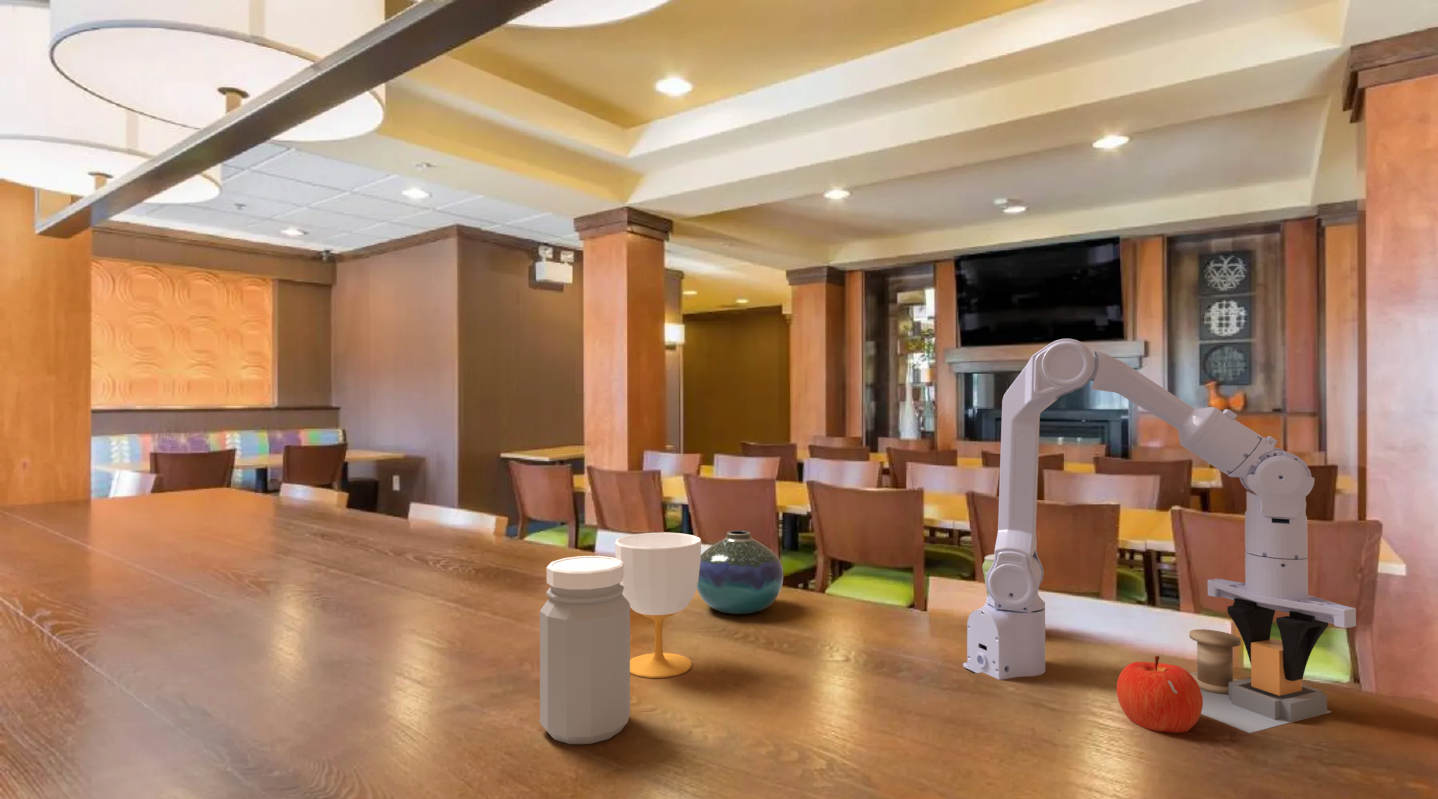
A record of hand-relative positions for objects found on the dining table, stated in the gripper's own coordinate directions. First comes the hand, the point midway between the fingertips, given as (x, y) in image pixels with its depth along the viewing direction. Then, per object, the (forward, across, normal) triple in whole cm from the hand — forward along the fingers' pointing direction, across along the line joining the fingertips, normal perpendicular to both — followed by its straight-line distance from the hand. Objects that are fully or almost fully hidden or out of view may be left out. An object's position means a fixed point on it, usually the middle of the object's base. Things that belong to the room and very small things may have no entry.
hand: (1276, 673), depth 84 cm
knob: (+4, +7, 0) cm, 8 cm away
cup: (+5, +41, +61) cm, 74 cm away
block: (+2, 0, 0) cm, 2 cm away
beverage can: (+5, +35, +6) cm, 36 cm away
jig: (+4, +4, +3) cm, 7 cm away
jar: (+5, +26, +74) cm, 79 cm away
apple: (+5, +2, +16) cm, 17 cm away
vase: (+5, +62, +40) cm, 74 cm away
